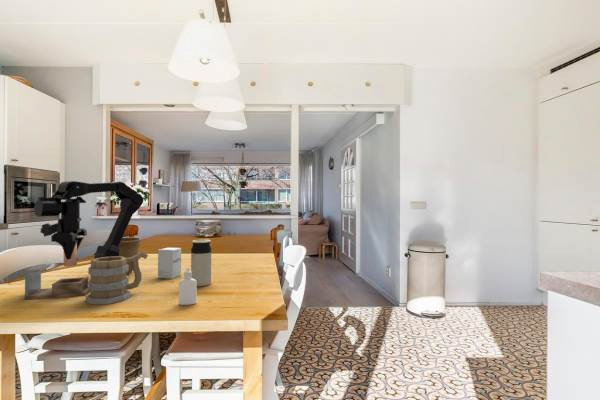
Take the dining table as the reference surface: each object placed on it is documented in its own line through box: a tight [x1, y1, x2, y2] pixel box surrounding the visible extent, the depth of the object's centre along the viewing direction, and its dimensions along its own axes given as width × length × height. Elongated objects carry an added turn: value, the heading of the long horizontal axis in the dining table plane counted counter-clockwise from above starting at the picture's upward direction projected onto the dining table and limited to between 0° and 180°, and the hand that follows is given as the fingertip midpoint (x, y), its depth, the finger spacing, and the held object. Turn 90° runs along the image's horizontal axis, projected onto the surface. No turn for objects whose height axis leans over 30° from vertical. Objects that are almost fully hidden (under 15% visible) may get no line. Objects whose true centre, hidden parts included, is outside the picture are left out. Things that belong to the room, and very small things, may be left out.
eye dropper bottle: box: [178, 267, 198, 306], centre depth 112 cm, size 4×6×12 cm
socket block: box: [24, 263, 90, 300], centre depth 122 cm, size 18×10×10 cm, turn 108°
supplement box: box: [157, 247, 182, 280], centre depth 151 cm, size 7×7×13 cm
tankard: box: [85, 251, 149, 305], centre depth 119 cm, size 20×13×15 cm, turn 139°
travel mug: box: [190, 239, 212, 287], centre depth 137 cm, size 8×8×18 cm
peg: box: [63, 243, 78, 267], centre depth 123 cm, size 4×4×8 cm
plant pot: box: [104, 236, 142, 275], centre depth 155 cm, size 15×15×16 cm
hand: (70, 258), depth 123 cm, fingers closed on peg, 4 cm apart
